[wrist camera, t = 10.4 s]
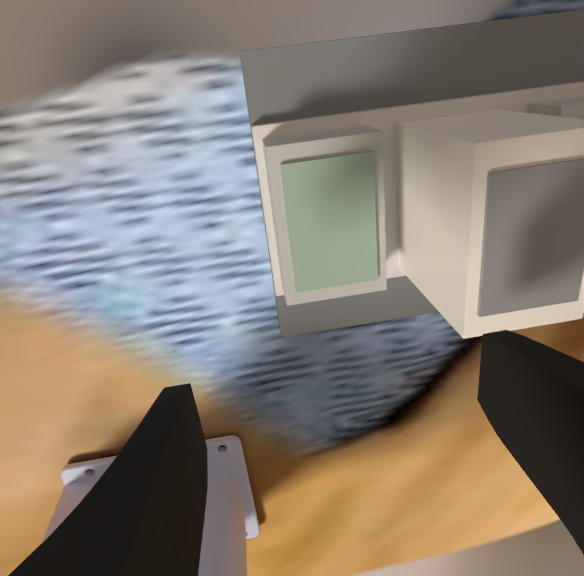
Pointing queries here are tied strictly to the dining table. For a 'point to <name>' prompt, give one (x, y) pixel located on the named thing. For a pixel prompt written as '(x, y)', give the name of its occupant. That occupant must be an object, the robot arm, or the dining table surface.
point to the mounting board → (396, 83)
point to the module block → (494, 218)
